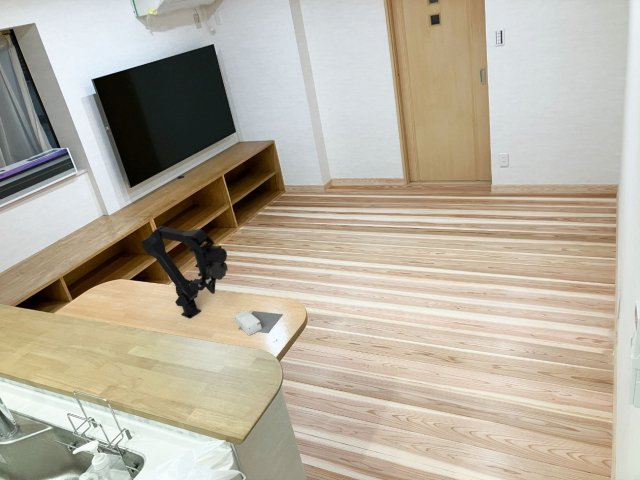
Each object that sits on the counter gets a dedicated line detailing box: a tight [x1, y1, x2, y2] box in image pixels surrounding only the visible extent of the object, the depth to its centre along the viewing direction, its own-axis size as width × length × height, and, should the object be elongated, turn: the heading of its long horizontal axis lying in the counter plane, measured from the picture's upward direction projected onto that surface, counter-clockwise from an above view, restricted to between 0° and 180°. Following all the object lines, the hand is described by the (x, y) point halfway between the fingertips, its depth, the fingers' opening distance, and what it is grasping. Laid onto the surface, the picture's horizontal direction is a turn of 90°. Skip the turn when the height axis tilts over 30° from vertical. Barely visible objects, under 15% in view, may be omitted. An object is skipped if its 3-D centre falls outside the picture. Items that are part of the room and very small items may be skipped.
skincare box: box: [233, 309, 262, 336], centre depth 210 cm, size 6×4×12 cm
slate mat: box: [237, 310, 283, 334], centre depth 213 cm, size 14×13×1 cm
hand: (213, 293), depth 216 cm, fingers closed
